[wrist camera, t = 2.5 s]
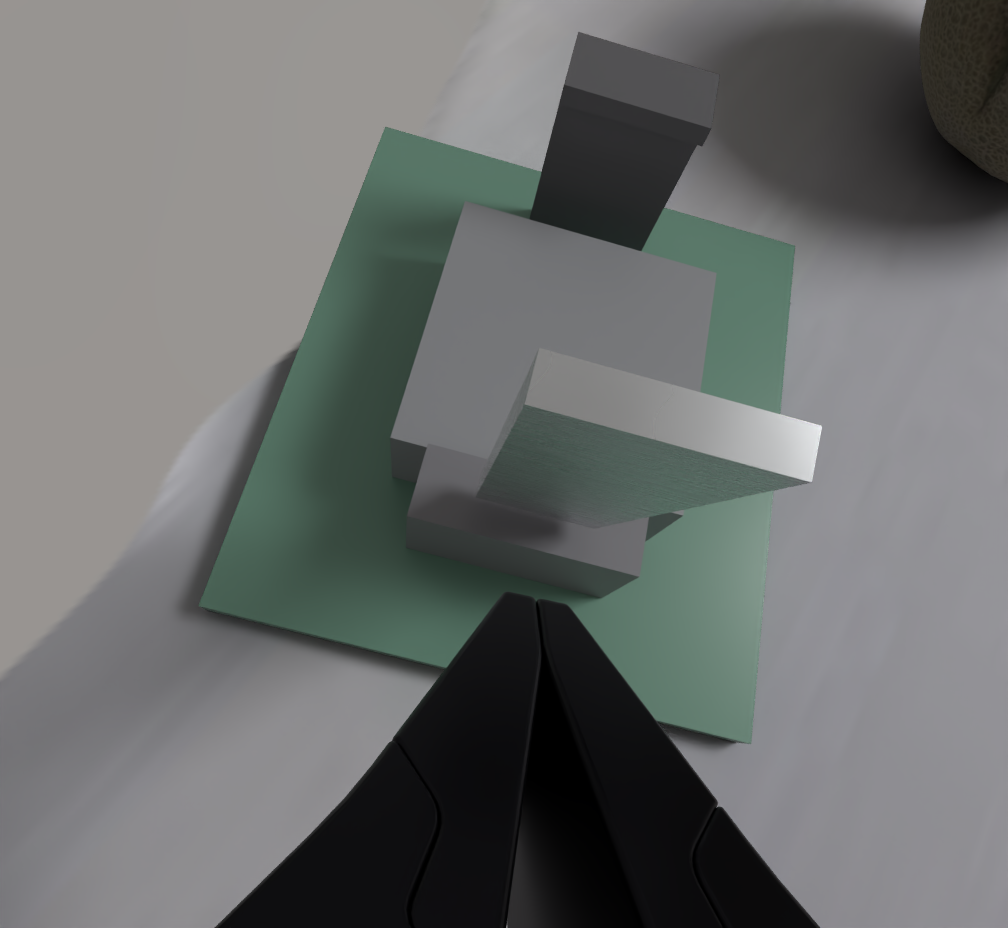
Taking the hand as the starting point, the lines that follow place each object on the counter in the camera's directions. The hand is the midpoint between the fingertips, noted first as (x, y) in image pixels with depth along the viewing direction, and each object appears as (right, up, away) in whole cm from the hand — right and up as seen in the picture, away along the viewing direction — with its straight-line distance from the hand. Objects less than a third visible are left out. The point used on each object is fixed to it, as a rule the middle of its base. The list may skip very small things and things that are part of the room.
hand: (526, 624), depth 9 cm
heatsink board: (+1, +4, +14) cm, 15 cm away
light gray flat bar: (+1, +1, +8) cm, 8 cm away
